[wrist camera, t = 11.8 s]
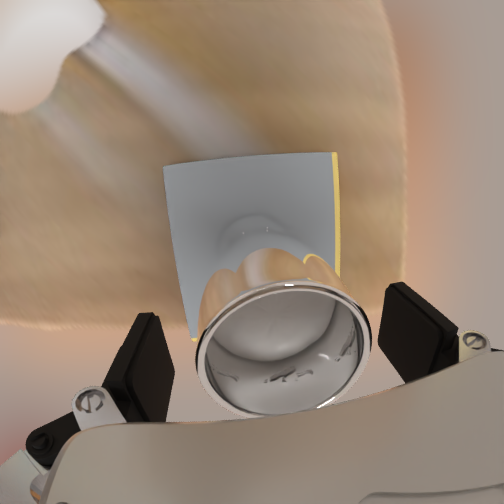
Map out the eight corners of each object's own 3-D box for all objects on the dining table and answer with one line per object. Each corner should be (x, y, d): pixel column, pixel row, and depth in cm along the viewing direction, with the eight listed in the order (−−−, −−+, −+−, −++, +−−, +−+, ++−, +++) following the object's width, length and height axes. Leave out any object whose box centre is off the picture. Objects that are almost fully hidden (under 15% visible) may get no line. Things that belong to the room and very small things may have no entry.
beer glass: (309, 261, 24) (395, 369, 10) (242, 301, 25) (256, 441, 10) (268, 192, 22) (333, 231, 8) (197, 238, 23) (148, 342, 9)
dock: (170, 166, 24) (162, 166, 21) (326, 154, 25) (338, 152, 22) (195, 327, 29) (192, 343, 26) (329, 312, 29) (338, 326, 26)
